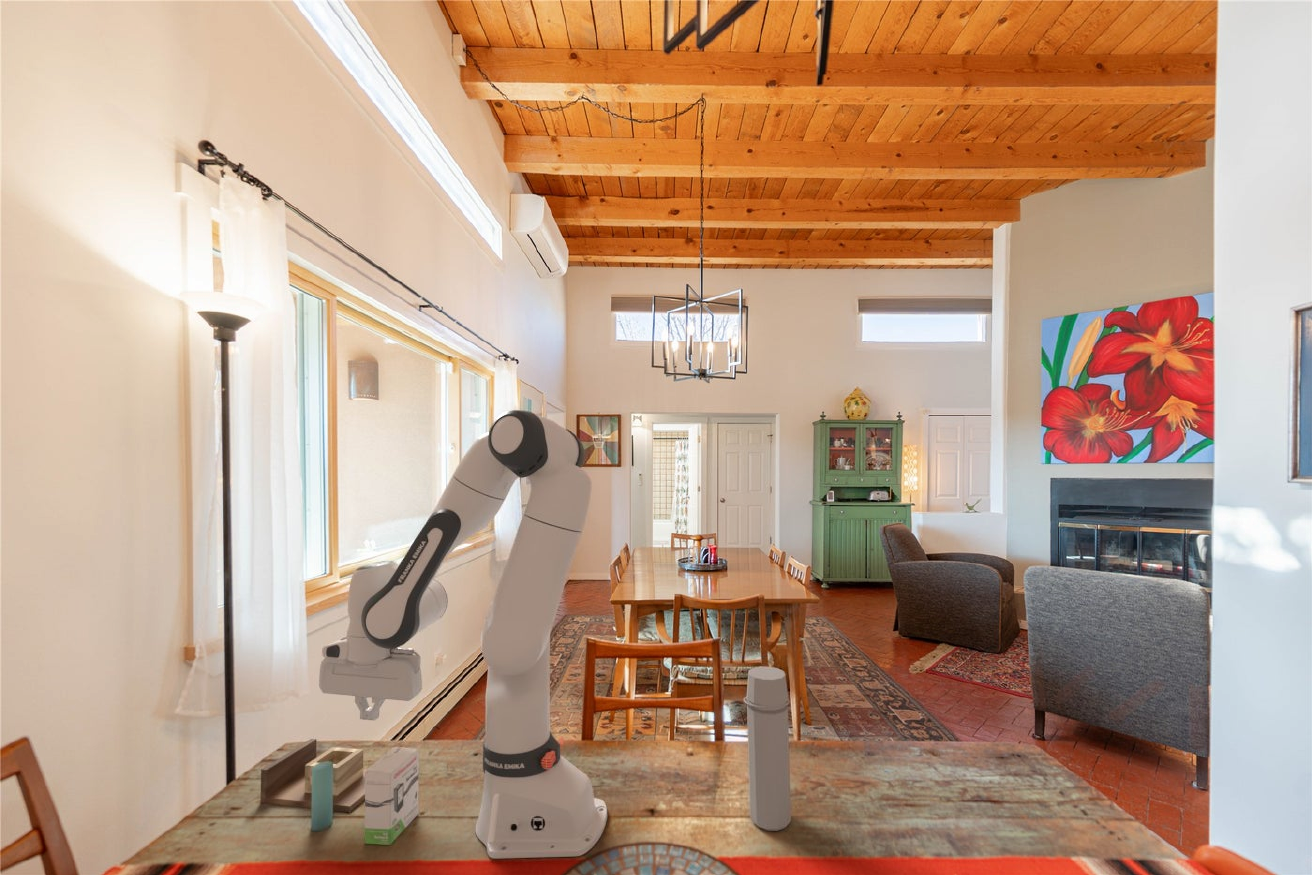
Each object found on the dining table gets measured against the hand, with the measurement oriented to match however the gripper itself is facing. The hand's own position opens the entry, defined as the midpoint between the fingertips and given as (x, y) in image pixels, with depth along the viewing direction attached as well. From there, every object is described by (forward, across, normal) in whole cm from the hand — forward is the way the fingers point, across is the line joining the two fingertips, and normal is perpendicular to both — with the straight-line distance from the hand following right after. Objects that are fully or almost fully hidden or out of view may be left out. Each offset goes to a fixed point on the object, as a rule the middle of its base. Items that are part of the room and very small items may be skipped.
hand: (369, 718), depth 107 cm
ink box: (+14, -12, +9) cm, 20 cm away
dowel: (+14, +1, +10) cm, 17 cm away
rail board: (+14, +8, 0) cm, 16 cm away
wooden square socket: (+13, +7, 0) cm, 15 cm away
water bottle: (+12, -76, -4) cm, 77 cm away
